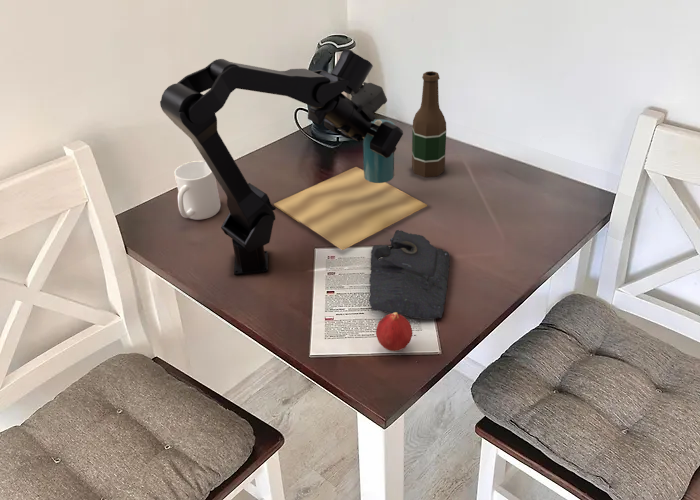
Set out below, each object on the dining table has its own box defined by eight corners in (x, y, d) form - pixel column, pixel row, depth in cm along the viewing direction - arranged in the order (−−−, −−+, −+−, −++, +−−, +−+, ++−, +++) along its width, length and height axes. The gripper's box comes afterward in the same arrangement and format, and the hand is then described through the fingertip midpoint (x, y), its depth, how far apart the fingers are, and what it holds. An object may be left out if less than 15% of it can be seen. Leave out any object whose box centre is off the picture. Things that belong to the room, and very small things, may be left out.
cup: (227, 202, 148) (220, 162, 142) (202, 232, 139) (193, 191, 133) (194, 198, 150) (186, 158, 144) (167, 227, 141) (157, 186, 135)
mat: (428, 207, 143) (428, 205, 142) (342, 252, 131) (342, 250, 131) (356, 168, 158) (356, 166, 158) (274, 205, 146) (273, 203, 146)
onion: (369, 351, 108) (368, 315, 104) (389, 332, 112) (389, 296, 107) (398, 366, 105) (399, 330, 101) (418, 346, 109) (419, 309, 104)
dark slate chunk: (356, 317, 115) (355, 297, 112) (374, 244, 133) (373, 225, 130) (444, 325, 113) (445, 304, 110) (451, 249, 130) (452, 230, 127)
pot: (399, 181, 141) (399, 125, 133) (366, 185, 139) (365, 129, 132) (390, 165, 146) (390, 111, 139) (359, 170, 145) (357, 115, 138)
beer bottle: (408, 177, 154) (409, 78, 139) (415, 161, 160) (417, 65, 145) (441, 181, 152) (445, 81, 137) (447, 165, 158) (452, 68, 143)
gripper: (396, 88, 121) (435, 125, 133) (331, 63, 133) (373, 99, 145) (365, 141, 122) (407, 173, 134) (303, 111, 133) (347, 143, 146)
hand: (383, 145), depth 140 cm, fingers closed on pot, 6 cm apart
